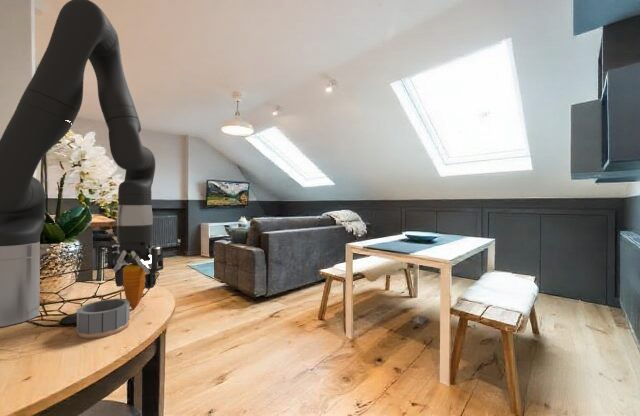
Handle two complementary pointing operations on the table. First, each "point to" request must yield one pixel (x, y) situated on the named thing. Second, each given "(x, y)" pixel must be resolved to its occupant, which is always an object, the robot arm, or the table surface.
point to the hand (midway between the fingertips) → (135, 286)
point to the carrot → (133, 283)
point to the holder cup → (102, 318)
